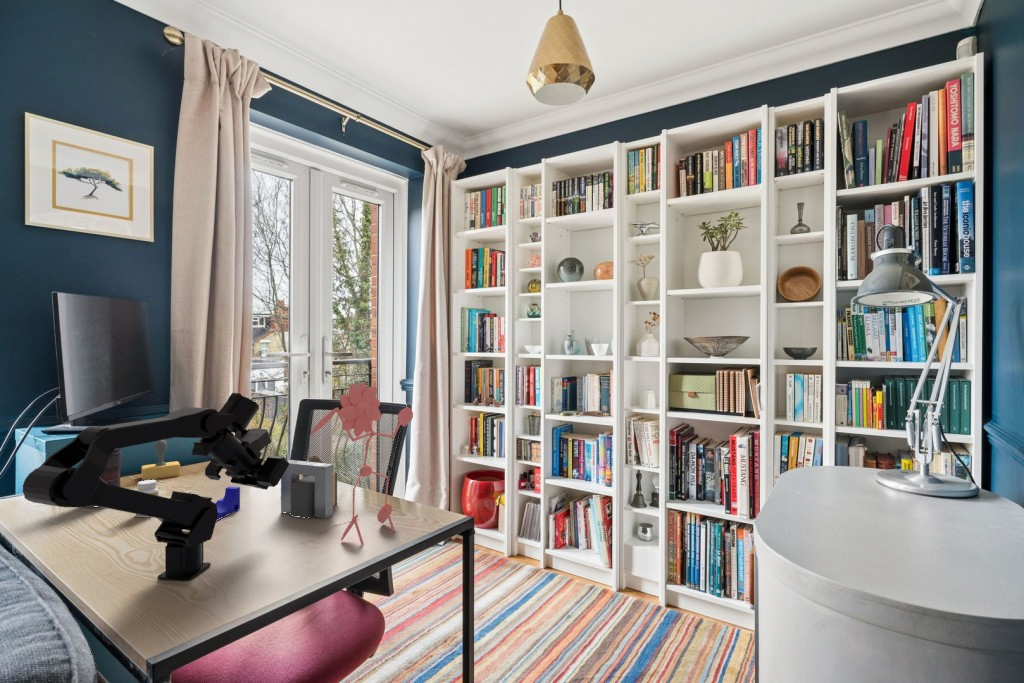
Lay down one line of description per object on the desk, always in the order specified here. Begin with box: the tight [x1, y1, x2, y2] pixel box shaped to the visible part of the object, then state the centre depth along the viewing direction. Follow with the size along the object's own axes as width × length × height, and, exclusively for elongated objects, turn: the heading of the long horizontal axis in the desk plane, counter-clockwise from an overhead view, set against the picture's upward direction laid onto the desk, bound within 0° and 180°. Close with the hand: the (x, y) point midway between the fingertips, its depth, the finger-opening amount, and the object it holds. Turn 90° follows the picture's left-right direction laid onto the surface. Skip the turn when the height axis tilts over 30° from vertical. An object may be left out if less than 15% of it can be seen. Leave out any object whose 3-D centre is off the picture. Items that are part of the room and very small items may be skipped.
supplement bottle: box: [135, 479, 160, 518], centre depth 132 cm, size 5×5×8 cm
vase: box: [301, 455, 324, 479], centre depth 159 cm, size 7×7×9 cm
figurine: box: [310, 381, 415, 545], centre depth 122 cm, size 15×26×35 cm, turn 145°
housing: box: [280, 459, 334, 519], centre depth 133 cm, size 3×14×13 cm, turn 72°
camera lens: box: [82, 448, 122, 487], centre depth 140 cm, size 8×8×15 cm
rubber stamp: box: [141, 439, 181, 481], centre depth 167 cm, size 10×6×12 cm, turn 128°
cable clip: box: [210, 486, 241, 520], centre depth 131 cm, size 12×4×6 cm, turn 172°
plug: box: [290, 471, 338, 519], centre depth 137 cm, size 12×5×9 cm, turn 163°
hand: (266, 487), depth 120 cm, fingers closed
